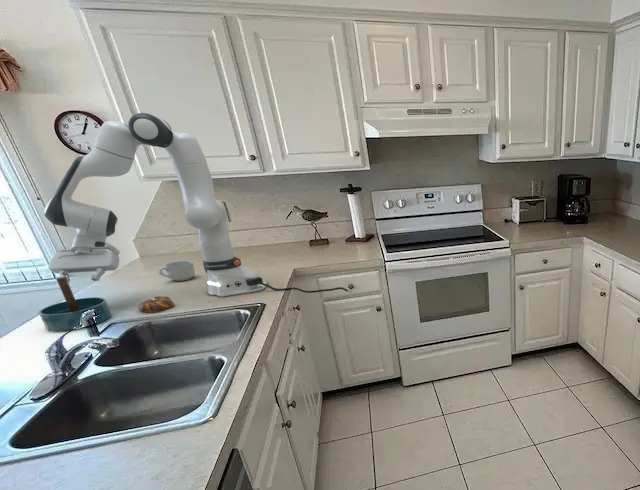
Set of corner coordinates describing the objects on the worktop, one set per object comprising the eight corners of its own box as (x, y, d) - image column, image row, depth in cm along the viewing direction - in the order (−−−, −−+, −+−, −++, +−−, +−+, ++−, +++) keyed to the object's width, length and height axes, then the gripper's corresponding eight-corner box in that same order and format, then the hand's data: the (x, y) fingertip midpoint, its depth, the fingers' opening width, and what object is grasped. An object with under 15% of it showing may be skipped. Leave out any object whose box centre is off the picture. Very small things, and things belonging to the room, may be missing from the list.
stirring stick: (90, 317, 151) (72, 275, 145) (83, 321, 147) (65, 278, 141) (74, 319, 150) (56, 276, 144) (68, 323, 146) (48, 280, 140)
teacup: (193, 274, 203) (188, 258, 200) (200, 278, 197) (195, 262, 194) (158, 281, 193) (153, 264, 190) (165, 285, 187) (159, 269, 184)
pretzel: (141, 306, 163) (138, 297, 162) (175, 300, 169) (172, 292, 168) (138, 316, 154) (134, 306, 153) (174, 309, 160) (171, 300, 159)
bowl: (120, 310, 159) (114, 295, 157) (98, 328, 144) (91, 311, 142) (64, 316, 154) (57, 300, 151) (34, 335, 139) (26, 317, 136)
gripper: (48, 245, 150) (38, 279, 145) (113, 242, 154) (105, 275, 149) (62, 254, 156) (53, 287, 151) (124, 251, 160) (117, 283, 155)
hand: (80, 281), depth 150 cm, fingers open, 8 cm apart
